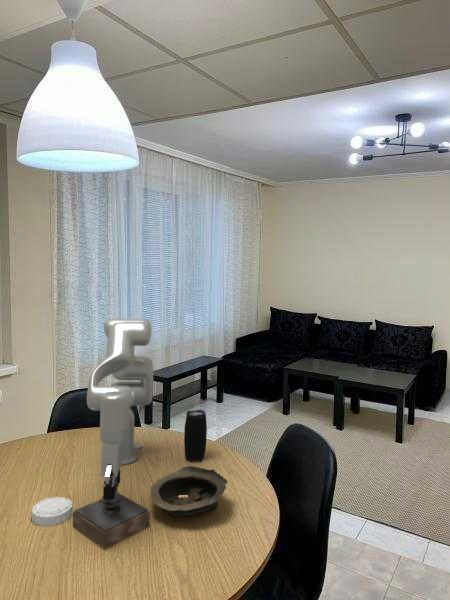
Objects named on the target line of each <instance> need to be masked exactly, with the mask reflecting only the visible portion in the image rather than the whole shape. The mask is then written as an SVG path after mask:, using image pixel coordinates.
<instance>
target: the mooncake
mask: <svg viewBox="0 0 450 600" xmlns="http://www.w3.org/2000/svg"><path fill="white" fill-rule="evenodd" d="M73 508H74V503H73V501H72V500H71V499H69V498H68V497H66V498H65V497H63V496H56V497H54V496H51V497H48V498H46V497H45V498H44V499H42V500H39V501H38V502H35V504H34V505H33V506H32V507H31V517H30V518H31V520H32V521H31V522H32V523H34V524H35V525H38V526H41V527H42V526H44V527H49V526H51V527H52V526H55V525H60V524H62V523H65V522H67V520H69V519H71V517H73V511H74V509H73Z"/></svg>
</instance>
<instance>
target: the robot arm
mask: <svg viewBox="0 0 450 600" xmlns="http://www.w3.org/2000/svg"><path fill="white" fill-rule="evenodd" d="M151 324H152V323H151V321H150V320H149V319H147V318H124V317H123V318H120V317H119V318H118V317H117V318H116V317H115V318H109V319H106V320H105V321H104V323H103V331H104V334H105V335H106V337H107V342H106V343H107V344H106V352H105V353H106V354H105V358H104V359H103V360H102V361H101V362H100V363H99V364H98V365H97V366H96V367H95V368H94V369H93V371H92V372H91V374H90V377H89V379H88V385H87V391H86V392H87V393H86V404H87V407H88V409H89V410H91V411H95V412H96V411H98V412H99V411H100V413H99V415H100V416H99V417H100V418H99V442H100V443H101V444H102V445H101V446H102V447H101V455H100V456H101V457H100V473H99V476H100V477H101V478H104V482H103V487H102V488H103V489H102V490H103V492H102V494H103V495H102V497H103V499H104V500H114V499H115V485H114V481H115V477H116V476H118V478H117V483H118V484H119V485H120V483H121V466H123V465H124V466H125V465H129V464H132V463H134V462H136V461H137V459H138V454H137V452H138V451H139V450H142V449H143V448H144V445H143V444H138V445H137V444H136V443H135V415H134V411H133V410H132V409H131V407H132V406H133V407H137V406H148V405H150V404H151V403H152V401H153V395H154V364H153V361H152V359H151V357H150V356H145V355H142V356H141V355H135V347H136V346H137V347H140V346H141V347H145V346H148V345H149V344H150V343H151V339H152V325H151ZM110 375H112V376H113V378H114V379H115V380H116V382H113V383H111V384H110V385H99V384H100V382H101V381H102V380H103V379H105V378H106V377H109V376H110ZM117 380H118V381H117ZM134 443H135V444H134ZM111 474H113V475H111ZM110 478H112V481H111V480H110Z"/></svg>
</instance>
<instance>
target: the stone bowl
mask: <svg viewBox="0 0 450 600" xmlns="http://www.w3.org/2000/svg"><path fill="white" fill-rule="evenodd" d="M227 484H228V479H226V478H224V477H223V475H221V473H218V472H217V471H216V470H215V469H206V468H202V467H198V466H194V465H193V466H192V465H190V466H183V467H182V468H181V469H178V470H177V471H176V472H170V473H168V474H167V475H165V476H162V477H161V478H159V479H158V480H157V481H155V482H154V483H153V484H152V485H151V486H150V488H149V489H150V494H149V495H150V499H151V501H152V503H153V504H154V505H156V506H157V507H159V508H161V509H164V511H165V512H166V513H167V514H168V515H169V516H175V517H186V516H187V517H188V516H192V515H197V514H201V513H203V512H206V511H208V510H210V509H211V510H215V509H217V507H218V504H219V499H220V498H221V496H222V495H223V493H224V492H225V491H226V489H227V486H226V485H227ZM179 495H188V497H187V498H186V497H184V498H182V497H181V498H179V497H178V496H179Z"/></svg>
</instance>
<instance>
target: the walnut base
mask: <svg viewBox="0 0 450 600" xmlns="http://www.w3.org/2000/svg"><path fill="white" fill-rule="evenodd" d="M118 493H119V494H120V495H122V499H121V502H120V504H119V506H120V507H121V510H120V511H119V512H117V513H114V514H106V513H104V512H103V508H104V507H105V505H104V503H103V501H102V498H100V499H98V500H96V501H93V502H91V503H89V504H87V505H84V506H82V507H79V508H77V509H75V510H73V512H72V527H73V528H74V529H75V530H77V531H78V532H80V533H81V534H82V535H84V536H85V537H86V538H88V539H89V540H91V541H92V542H93V543H95V544H96V545H97V544H98V546H99V547H100V548H102V549H103V550H106V549H107V547H108V548H109V546H110V547H111V546H113V545H115V544H117V543H119V542H121V541H123V540H124V539H127V538H129V537H130V536H133V535H134V534H136V533H138V532H140V531H142V530H144V529H145V528H148V527H149V525H150V522H151V521H150V520H151V519H150V518H151V515H150V513H151V511H150V510H149V509H147V508H146V507H144V506H142V505H140V504H139V503H138V502H135V501H134V500H131V499H130V498H128V497H126V496H125V495H123V494H121V493H120V492H118ZM147 526H148V527H147ZM139 530H140V531H139ZM105 548H106V549H105Z"/></svg>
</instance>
